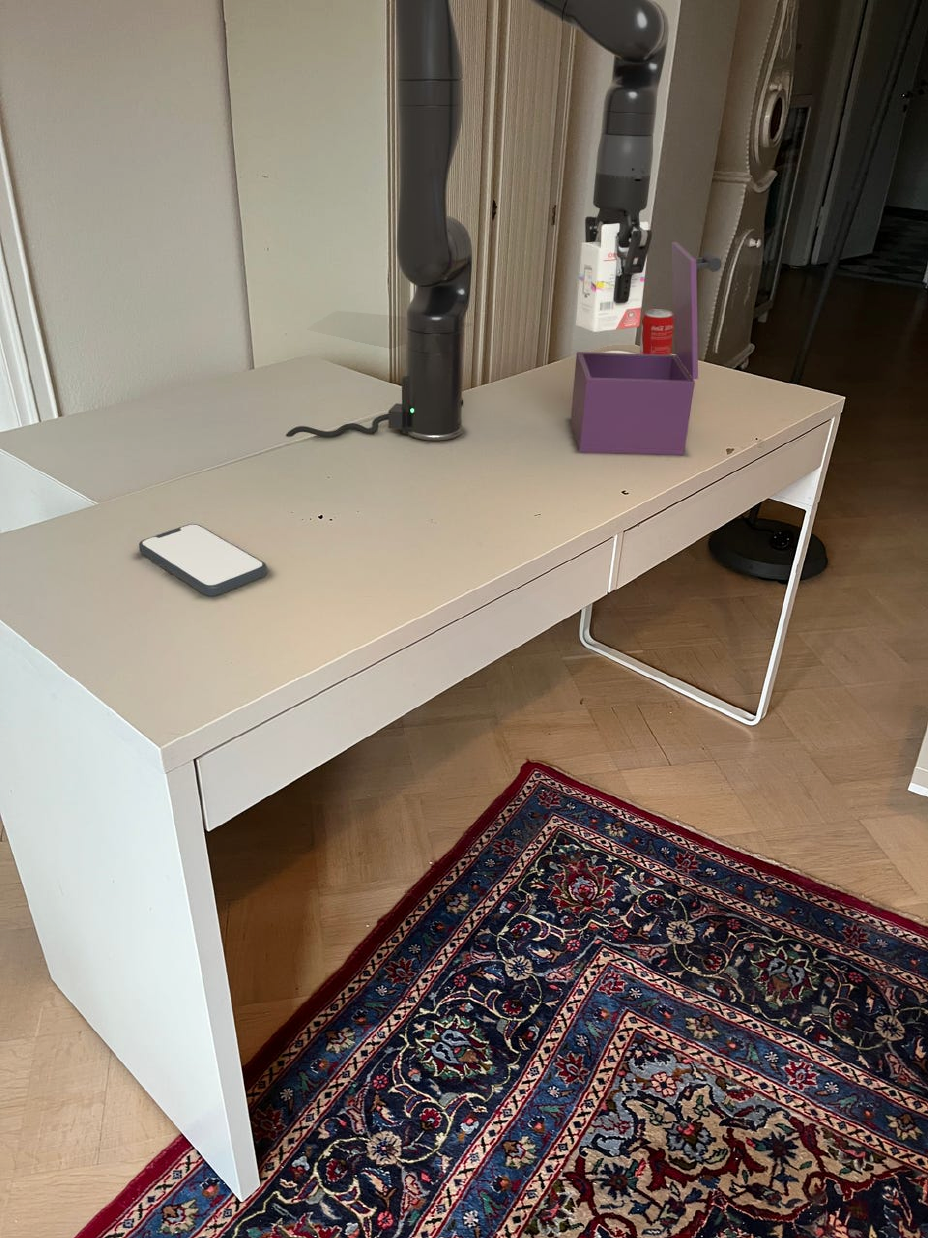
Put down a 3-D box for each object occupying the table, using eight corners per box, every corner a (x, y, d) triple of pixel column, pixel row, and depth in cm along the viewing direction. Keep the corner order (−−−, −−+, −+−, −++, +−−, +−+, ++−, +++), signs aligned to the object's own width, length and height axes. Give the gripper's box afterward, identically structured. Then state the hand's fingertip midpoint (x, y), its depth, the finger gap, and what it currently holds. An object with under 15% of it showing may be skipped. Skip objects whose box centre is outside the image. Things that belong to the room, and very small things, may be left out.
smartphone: (272, 576, 115) (197, 531, 125) (271, 564, 115) (195, 520, 124) (209, 601, 110) (135, 553, 119) (208, 589, 109) (133, 541, 118)
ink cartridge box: (620, 319, 146) (631, 216, 138) (640, 327, 142) (653, 221, 135) (573, 324, 142) (582, 218, 135) (592, 333, 139) (602, 224, 131)
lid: (690, 260, 138) (729, 254, 138) (671, 242, 151) (707, 236, 151) (692, 379, 147) (729, 374, 147) (674, 352, 160) (708, 347, 160)
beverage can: (671, 391, 182) (682, 310, 175) (658, 399, 178) (669, 317, 170) (642, 385, 185) (652, 305, 177) (628, 393, 180) (638, 312, 173)
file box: (579, 452, 153) (586, 378, 147) (570, 420, 166) (576, 351, 160) (683, 455, 154) (695, 382, 147) (666, 422, 167) (676, 354, 161)
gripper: (573, 165, 136) (563, 289, 144) (629, 177, 125) (615, 311, 133) (617, 164, 138) (605, 286, 147) (676, 176, 127) (659, 307, 136)
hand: (610, 297), depth 140 cm, fingers closed on ink cartridge box, 5 cm apart
